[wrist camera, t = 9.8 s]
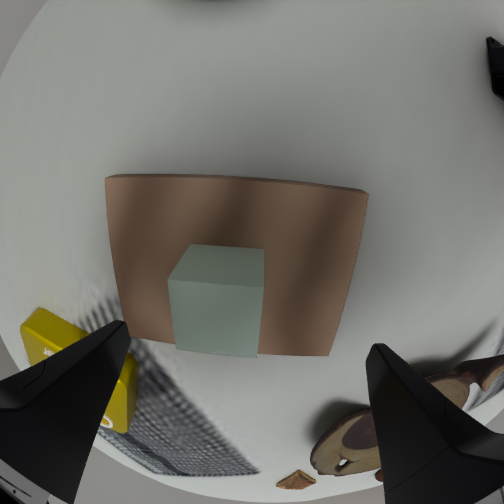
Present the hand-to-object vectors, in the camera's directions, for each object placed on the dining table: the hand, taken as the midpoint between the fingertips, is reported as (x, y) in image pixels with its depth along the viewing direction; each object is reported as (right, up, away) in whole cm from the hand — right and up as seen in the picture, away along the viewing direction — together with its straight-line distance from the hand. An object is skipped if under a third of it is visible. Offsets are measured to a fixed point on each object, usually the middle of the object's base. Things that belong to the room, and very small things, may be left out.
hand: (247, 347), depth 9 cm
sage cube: (-2, +1, +10) cm, 11 cm away
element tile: (-21, -11, +19) cm, 31 cm away
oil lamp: (+21, -17, +19) cm, 33 cm away
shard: (+8, -42, +31) cm, 53 cm away
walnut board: (-2, +2, +12) cm, 12 cm away
